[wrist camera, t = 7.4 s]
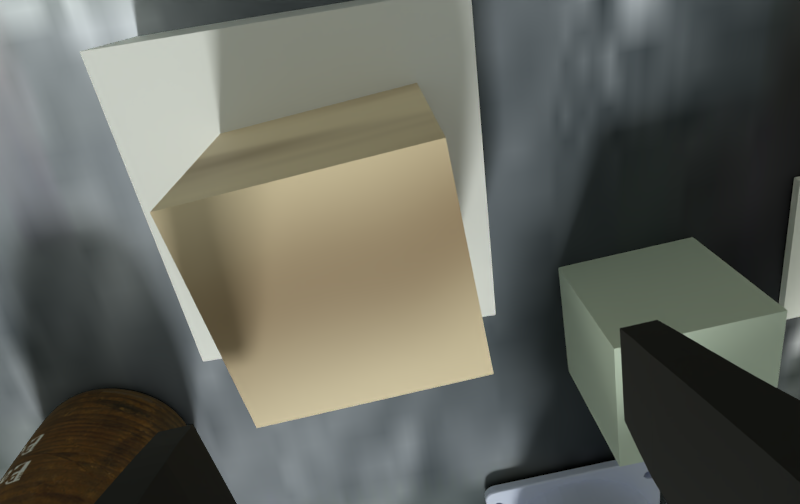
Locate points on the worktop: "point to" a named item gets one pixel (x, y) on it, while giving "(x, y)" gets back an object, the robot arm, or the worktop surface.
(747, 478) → the robot arm
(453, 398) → the worktop surface
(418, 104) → the maple cube
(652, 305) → the sage cube
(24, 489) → the utensil holder
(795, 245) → the card
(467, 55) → the grey base block
